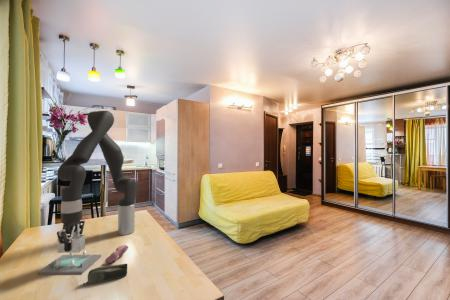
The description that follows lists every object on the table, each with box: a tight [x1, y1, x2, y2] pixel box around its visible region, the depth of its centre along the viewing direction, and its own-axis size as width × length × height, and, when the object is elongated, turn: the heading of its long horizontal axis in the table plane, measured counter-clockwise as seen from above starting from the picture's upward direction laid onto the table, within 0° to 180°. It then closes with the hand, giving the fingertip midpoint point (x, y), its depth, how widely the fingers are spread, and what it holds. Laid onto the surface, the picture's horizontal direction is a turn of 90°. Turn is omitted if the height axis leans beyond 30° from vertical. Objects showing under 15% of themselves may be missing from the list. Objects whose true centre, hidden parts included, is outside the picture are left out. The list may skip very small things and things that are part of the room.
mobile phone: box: [82, 263, 128, 286], centre depth 79 cm, size 5×3×15 cm
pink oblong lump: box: [104, 244, 129, 264], centre depth 94 cm, size 10×5×7 cm, turn 170°
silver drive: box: [57, 234, 86, 254], centre depth 89 cm, size 4×9×6 cm, turn 91°
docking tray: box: [37, 250, 102, 275], centre depth 89 cm, size 13×18×4 cm
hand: (71, 248), depth 89 cm, fingers closed on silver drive, 4 cm apart
